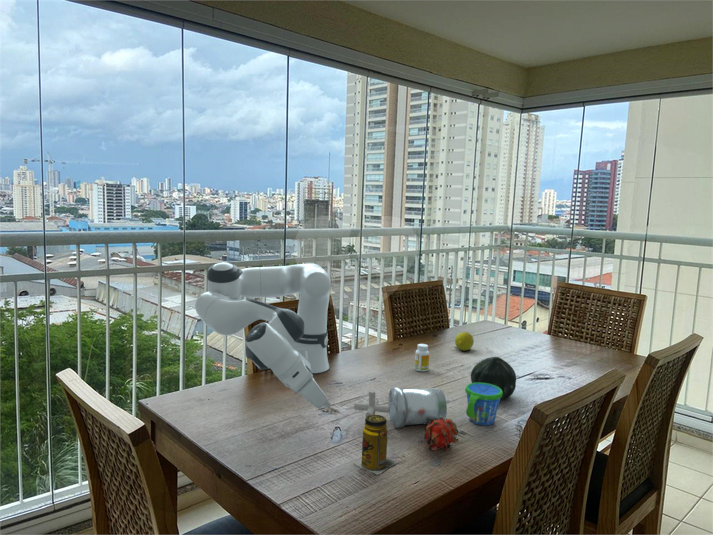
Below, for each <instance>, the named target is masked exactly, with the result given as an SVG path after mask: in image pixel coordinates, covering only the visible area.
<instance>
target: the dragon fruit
mask: <svg viewBox="0 0 713 535" xmlns="http://www.w3.org/2000/svg"><path fill="white" fill-rule="evenodd" d="M458 434H459V430H458V427H457V425H456V423H455V422H454V421H453V419H451V418H445V420H444V419H443V418H442V417H439V420H434V419H433V420H431V421H430V423H429V424H426V426H425V428H424V433H423V439H424V440H425V442H426V445H427V446H429V448H428V450H429V451H438V452H439V451H440V450H441V448H443V449H444V451H449V450H450V449H451V448H452V447H453V444H457V443H458V442H459V438H458V437H457V435H458Z"/></svg>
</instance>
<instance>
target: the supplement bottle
mask: <svg viewBox="0 0 713 535" xmlns="http://www.w3.org/2000/svg"><path fill="white" fill-rule="evenodd" d="M428 349H429V345H428V344H425V343H418V344H417V349H416V350H415V353H414V370H415V371H418V372H428V371H429V365H430V351H429V350H428Z"/></svg>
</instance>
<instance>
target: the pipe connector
mask: <svg viewBox="0 0 713 535" xmlns="http://www.w3.org/2000/svg"><path fill="white" fill-rule="evenodd" d="M353 407H354V410H356V411H366V412H365V418H366V417H367V416H369V415H376V412H378V413H387V414H389V411H390V406H388V405H381V404H380V405H379V399H377V398H376V391H375V390H371V389H370V390H368V403H359V402H358V403H357V402H355V403H354V406H353Z"/></svg>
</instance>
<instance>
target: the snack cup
mask: <svg viewBox="0 0 713 535" xmlns="http://www.w3.org/2000/svg"><path fill="white" fill-rule="evenodd" d="M464 389H465V393H466V397H467V398H466V399H467V408H466V411H465V413H466V416H467V417H468V420H470V421H471V422H472V423H474V424H475V425H480V426H490V425H493V423H494V422H495V421H496V418H497V413H498V409H499V406H500V401H501V400H500V398H501V397H502V395H503V392H502V390H501V389H500V388H499V387H497V386H495V385H492V384H488V383H472V382H471V383H468V384H467V385H466V386H465V388H464Z"/></svg>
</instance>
